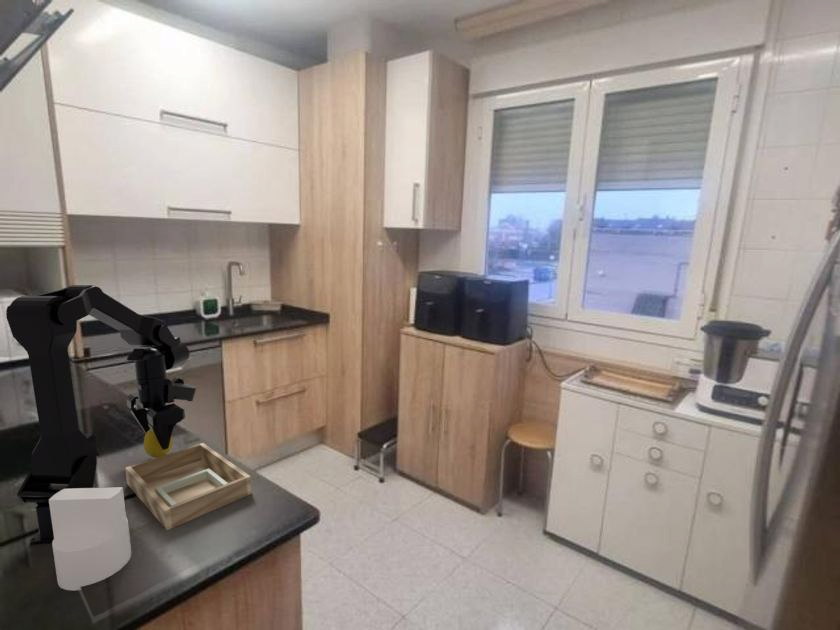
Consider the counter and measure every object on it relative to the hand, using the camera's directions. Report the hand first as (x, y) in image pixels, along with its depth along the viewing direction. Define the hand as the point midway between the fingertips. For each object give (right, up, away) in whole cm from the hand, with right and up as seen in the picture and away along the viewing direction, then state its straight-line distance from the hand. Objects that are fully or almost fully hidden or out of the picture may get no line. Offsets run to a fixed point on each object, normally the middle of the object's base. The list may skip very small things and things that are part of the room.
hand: (158, 442), depth 99 cm
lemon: (0, -4, +1) cm, 4 cm away
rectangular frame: (+16, -6, -15) cm, 22 cm away
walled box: (+13, -6, -13) cm, 19 cm away
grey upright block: (+10, -9, -33) cm, 36 cm away
